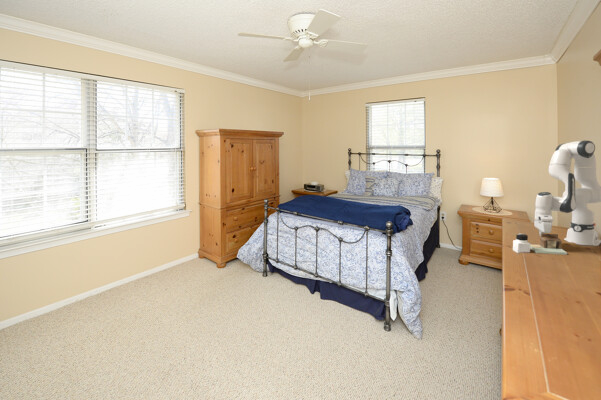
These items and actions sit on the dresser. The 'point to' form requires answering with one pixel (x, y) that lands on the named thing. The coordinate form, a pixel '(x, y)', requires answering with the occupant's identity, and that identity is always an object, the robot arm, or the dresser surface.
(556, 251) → the board
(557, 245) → the brown wooden piece
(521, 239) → the medicine bottle
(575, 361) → the dresser surface
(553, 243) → the block
